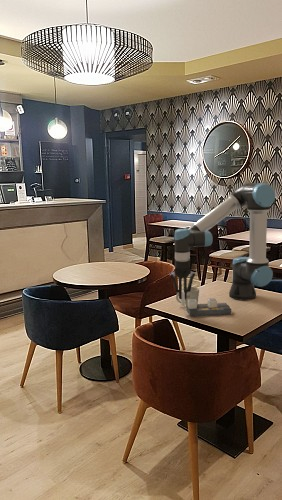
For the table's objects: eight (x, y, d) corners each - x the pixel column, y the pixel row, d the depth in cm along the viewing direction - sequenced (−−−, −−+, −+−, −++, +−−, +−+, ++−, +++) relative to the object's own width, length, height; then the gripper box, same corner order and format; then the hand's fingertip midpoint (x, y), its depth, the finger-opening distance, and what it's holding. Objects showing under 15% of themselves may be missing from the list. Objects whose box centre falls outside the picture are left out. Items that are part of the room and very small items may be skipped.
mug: (198, 309, 208) (198, 291, 206) (175, 308, 210) (174, 290, 209) (199, 304, 216) (199, 287, 214) (176, 303, 218) (176, 286, 217)
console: (226, 308, 209) (226, 302, 209) (231, 314, 199) (231, 308, 199) (186, 310, 208) (186, 304, 207) (189, 316, 198) (189, 310, 197)
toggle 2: (215, 304, 205) (215, 297, 204) (217, 307, 201) (217, 300, 201) (207, 305, 205) (207, 298, 204) (209, 307, 201) (209, 300, 200)
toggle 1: (195, 305, 205) (195, 298, 204) (196, 308, 201) (196, 301, 200) (187, 306, 204) (187, 299, 204) (189, 308, 200) (188, 301, 200)
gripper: (193, 257, 202) (194, 301, 206) (168, 258, 201) (169, 303, 205) (196, 260, 194) (196, 306, 199) (170, 262, 194) (171, 307, 198)
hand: (182, 304), depth 202 cm, fingers closed
